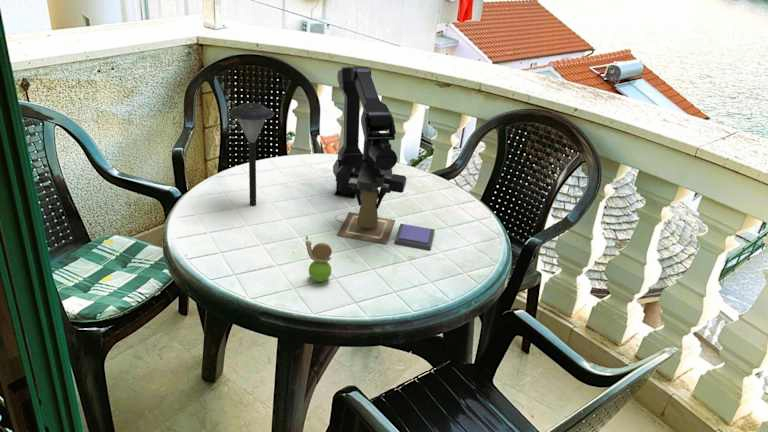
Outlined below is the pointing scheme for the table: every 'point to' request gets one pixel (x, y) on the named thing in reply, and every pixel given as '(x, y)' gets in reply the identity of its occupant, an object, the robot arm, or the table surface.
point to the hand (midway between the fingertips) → (368, 206)
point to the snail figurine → (319, 261)
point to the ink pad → (414, 236)
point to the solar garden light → (251, 135)
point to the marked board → (366, 229)
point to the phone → (387, 173)
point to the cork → (368, 209)
